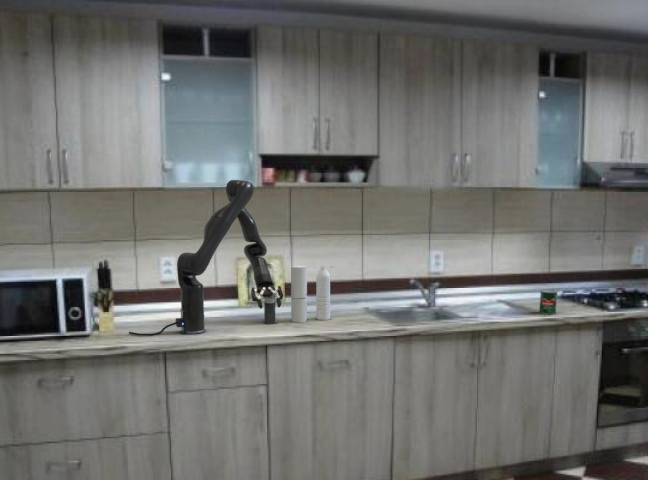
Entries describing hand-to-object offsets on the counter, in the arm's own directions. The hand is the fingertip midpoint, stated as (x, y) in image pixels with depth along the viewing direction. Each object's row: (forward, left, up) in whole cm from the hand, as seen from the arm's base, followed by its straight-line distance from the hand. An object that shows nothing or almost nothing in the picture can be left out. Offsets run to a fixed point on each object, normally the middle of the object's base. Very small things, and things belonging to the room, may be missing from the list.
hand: (270, 307), depth 276 cm
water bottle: (+27, +1, -8) cm, 28 cm away
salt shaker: (0, +1, -8) cm, 8 cm away
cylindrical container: (+14, +1, -8) cm, 16 cm away
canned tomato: (+135, -26, -8) cm, 138 cm away
